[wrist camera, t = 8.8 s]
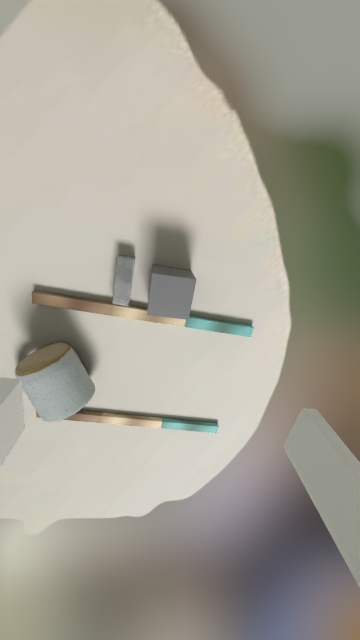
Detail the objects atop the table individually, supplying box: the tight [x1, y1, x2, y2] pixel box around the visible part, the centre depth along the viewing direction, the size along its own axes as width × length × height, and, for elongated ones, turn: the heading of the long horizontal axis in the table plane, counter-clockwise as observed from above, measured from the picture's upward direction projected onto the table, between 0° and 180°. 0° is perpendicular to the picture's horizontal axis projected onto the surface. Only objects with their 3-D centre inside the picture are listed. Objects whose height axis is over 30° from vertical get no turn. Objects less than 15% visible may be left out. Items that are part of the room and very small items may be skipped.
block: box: [147, 265, 196, 320], centre depth 30 cm, size 5×5×5 cm
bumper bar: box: [112, 255, 135, 306], centre depth 30 cm, size 2×6×2 cm, turn 168°
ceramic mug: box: [15, 343, 95, 422], centre depth 32 cm, size 11×8×8 cm
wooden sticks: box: [32, 291, 254, 433], centre depth 37 cm, size 30×21×1 cm
